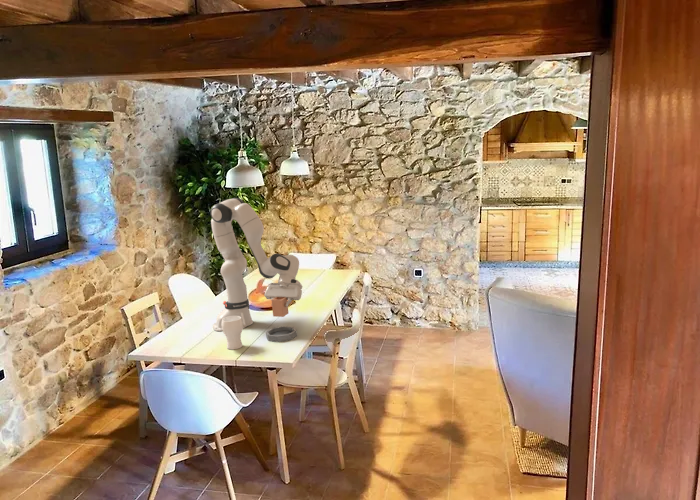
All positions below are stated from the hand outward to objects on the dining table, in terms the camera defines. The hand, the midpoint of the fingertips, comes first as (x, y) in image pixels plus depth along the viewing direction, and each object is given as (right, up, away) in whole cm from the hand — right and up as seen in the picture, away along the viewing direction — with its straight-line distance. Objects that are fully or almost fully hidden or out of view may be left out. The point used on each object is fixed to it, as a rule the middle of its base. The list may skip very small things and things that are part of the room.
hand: (279, 306), depth 302 cm
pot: (+1, -5, +2) cm, 5 cm away
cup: (-22, -20, -8) cm, 31 cm away
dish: (+1, -16, +2) cm, 16 cm away
